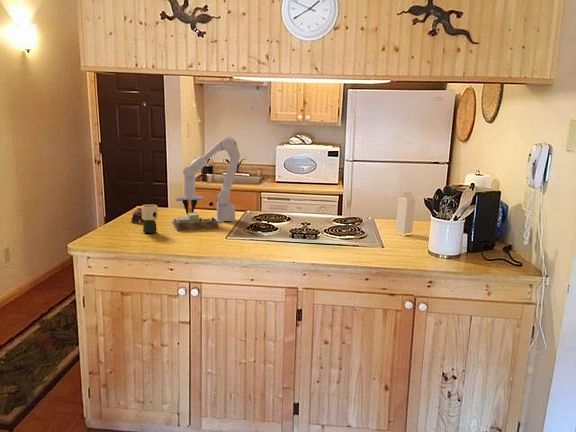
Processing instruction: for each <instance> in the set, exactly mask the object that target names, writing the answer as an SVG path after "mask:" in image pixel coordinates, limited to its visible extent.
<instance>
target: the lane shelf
mask: <svg viewBox="0 0 576 432" xmlns="http://www.w3.org/2000/svg"><path fill="white" fill-rule="evenodd" d="M187 218H188V217H187ZM188 219H189V218H188ZM171 223H172V225H173V227H174V228H175V230H176V231H177V232H188V231H203V230H204V231H205V230H207V231H208V229H209V230H219V229H220V228H219V222H218V221H216V220H215V217H214V216H213V217H211V218H202V217H199V222H191V221H190V220H189V222H181V223H178V219H176V218H174V219H173V220H171Z"/></svg>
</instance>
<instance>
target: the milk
mask: <svg viewBox="0 0 576 432" xmlns="http://www.w3.org/2000/svg"><path fill="white" fill-rule="evenodd" d="M397 201H398V202H397V210H396V212H397V213H396V222H395V231H396V232H400V233H403V234H406V233H411V232H412V233H413V227H414V217H415V210H416V209H415V207H416V198H415V197H414V196H413V194H412V191H407V192H403V193H402V196H399V197H398V200H397Z"/></svg>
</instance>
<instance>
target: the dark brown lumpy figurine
mask: <svg viewBox="0 0 576 432" xmlns="http://www.w3.org/2000/svg"><path fill="white" fill-rule="evenodd" d="M130 220H131V221H130V222H131V223H134V224H138V225H139V223H144V221H145V220H143V219H142V207H138V208H136V210H134V211H133V213H132V218H131V219H130Z"/></svg>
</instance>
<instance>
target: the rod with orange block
mask: <svg viewBox="0 0 576 432" xmlns="http://www.w3.org/2000/svg"><path fill="white" fill-rule="evenodd" d="M186 215H187V216H186V217H187V218H189V220H190V221H191V222H199V218H200V214H199V213H198V212H196V211H195V212H192V207H191V206H188V214H186Z"/></svg>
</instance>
